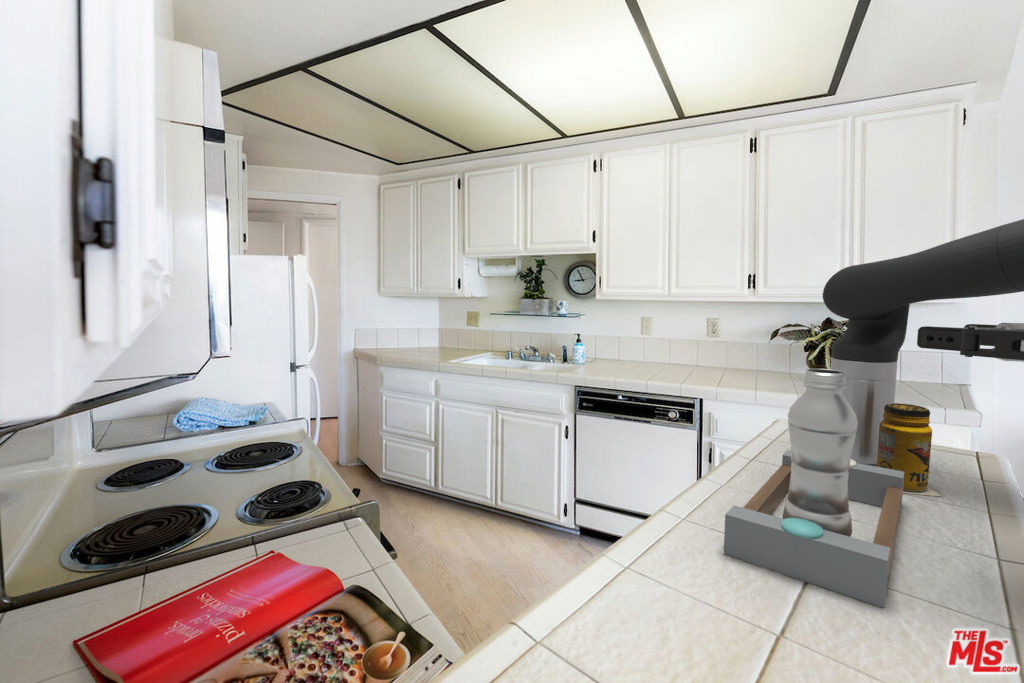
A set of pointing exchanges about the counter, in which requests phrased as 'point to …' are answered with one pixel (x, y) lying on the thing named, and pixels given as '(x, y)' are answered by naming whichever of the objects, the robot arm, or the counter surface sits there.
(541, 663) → the counter surface
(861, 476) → the grey beam
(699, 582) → the counter surface
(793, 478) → the plastic bottle
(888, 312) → the robot arm
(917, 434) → the condiment
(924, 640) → the counter surface
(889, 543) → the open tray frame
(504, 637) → the counter surface
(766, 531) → the grey end board
